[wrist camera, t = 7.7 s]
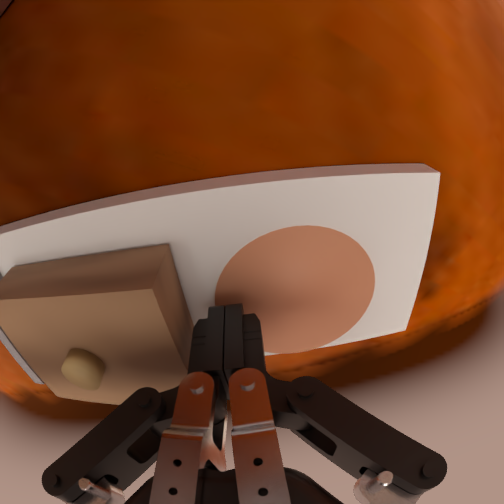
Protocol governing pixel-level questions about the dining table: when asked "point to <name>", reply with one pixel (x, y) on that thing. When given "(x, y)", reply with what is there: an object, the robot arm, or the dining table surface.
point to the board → (265, 246)
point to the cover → (100, 323)
